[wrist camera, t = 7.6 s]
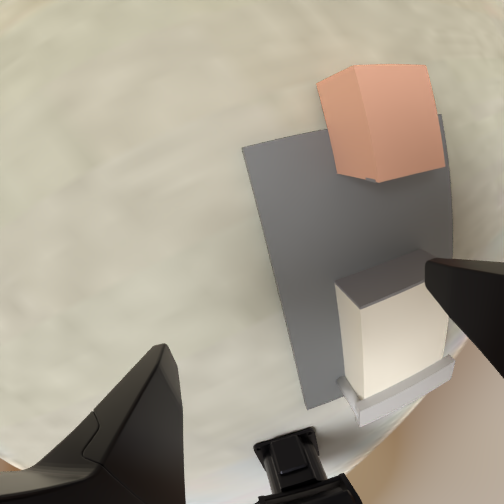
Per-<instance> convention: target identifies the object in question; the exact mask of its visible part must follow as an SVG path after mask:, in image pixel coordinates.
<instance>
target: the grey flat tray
mask: <svg viewBox="0 0 504 504" xmlns="http://www.w3.org/2000/svg"><path fill="white" fill-rule="evenodd" d="M437 115H438V120H439V126H440V131H441V138H442V144H443V152H444V160H445V167H442V168H438V169H433V170H429V171H425V172H421V173H416V174H412V175H408V176H404V177H400V178H396V179H392V180H388V181H384V182H380V183H378V182H376V183H375V182H371V181H366V180H365V179H360V178H356V177H351V176H346V175H342V174H337V170H336V165H335V160H334V155H333V151H332V146H331V142H330V137H329V133H328V129H324V130H318V131H313V132H308V133H303V134H298V135H294V136H289V137H284V138H280V139H276V140H271V141H267V142H263V143H259V144H255V145H251V146H247V147H243V148H242V152H243V155H244V159H245V163H246V167H247V171H248V174H249V178H250V182H251V186H252V190H253V194H254V197H255V201H256V205H257V209H258V213H259V217H260V221H261V225H262V229H263V232H264V236H265V240H266V244H267V248H268V252H269V256H270V260H271V264H272V268H273V272H274V276H275V280H276V284H277V288H278V292H279V297H280V301H281V305H282V309H283V313H284V317H285V321H286V325H287V329H288V334H289V338H290V342H291V346H292V350H293V355H294V359H295V363H296V367H297V372H298V376H299V380H300V384H301V389H302V393H303V397H304V402H305V406H306V408H307V410H309V409H312V408H314V407H317V406H320V405H322V404H325V403H328V402H330V401H333V400H335V399H338V398H340V397H343V396H345V398H346V400H347V401H348V403H349V405H350V407H351V408H352V410H353V412H354V413H355V420H356V422H357V423H358V425H359V427H363V426H365V425H367V424H369V423H371V422H374V421H376V420H378V419H380V418H382V417H384V416H386V415H388V414H390V413H392V412H394V411H396V410H398V409H400V408H402V407H404V406H406V405H408V404H409V403H411V402H413V401H415V400H417V399H418V398H420V397H422V396H424V395H425V394H427V393H429V392H431V391H432V390H434V389H436V388H437V387H439V386H440V385H442V384H444V383H445V382H447V381H448V380H450V379H451V377H452V373H453V369H454V365H455V360H454V359H453V358H452V357H451V356H450V355H447V356H446V357H444V358H443V353H444V347H445V341H446V334H447V327H448V319H449V316H448V315H447V314H446V312H445V311H444V310H443V308H442V307H441V306H440V305H439V303H438V302H437V301H436V300H435V298H434V297H433V296H432V295H431V293H430V292H429V291H428V290H427V288H426V286H425V263H426V261H428V260H430V259H432V258H448V259H452V256H453V219H452V196H451V182H450V171H449V162H448V154H447V146H446V139H445V133H444V127H443V121H442V116H441V114H437Z"/></svg>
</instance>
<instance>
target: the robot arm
mask: <svg viewBox="0 0 504 504" xmlns="http://www.w3.org/2000/svg"><path fill="white" fill-rule="evenodd" d="M425 286H426V288H427V290H428V291H429V292H430V293H431V295H432V296H433V297H434V298H435V300H436V301H437V302H438V303H439V305H440V306H441V307H442V308H443V310H444V311H445V312H446V314H447V315H448V316H449V317H450V318H451V319H452V320H453V321H454V323H455V324H456V325H457V326H458V327H459V328H460V329H461V330H462V331H463V332H464V333H465V334H466V335H467V337H468V338H469V339H470V340H471V341H472V342H473V343H474V344H475V345H476V346H477V348H478V349H479V350H480V351H481V352H482V353H483V354H484V356H485V357H486V358H487V359H488V360H489V361H490V363H491V364H492V365H493V366H494V367H495V368H496V370H497V371H498V372H499V373H500V375H501V376H502V377H503V378H504V263H503V262H490V261H476V260H462V259H448V258H432V259H430V260H428V261H426V263H425ZM93 411H94V412H93ZM93 411H92V412H91V413H90V414H89V415H88V416H87V417H86V418H85V419H84V420H83V421H82V422H81V423H80V424H79V425H78V426H77V427H76V428H75V429H74V430H73V431H72V432H71V433H70V434H69V435H68V436H67V437H66V438H65V439H64V440H63V441H61V442H60V443H59V444H58V445H57V446H56V447H55V448H54V449H53V450H51V451H50V452H49V453H48V454H47V455H46V456H45V457H44V458H42V459H41V460H40V461H39V462H38V463H37V464H35V465H34V466H32V467H30V468H28V469H25V470H21V471H10V472H0V504H186V502H185V482H184V453H183V407H182V399H181V391H180V382H179V374H178V367H177V364H176V362H175V360H174V358H173V356H172V354H171V351H170V349H169V347H168V346H167V344H165V343H164V344H159V345H155V346H153V347H152V348H151V349H150V350H149V351H148V352H147V353H146V354H145V355H144V356H143V357H142V359H141V360H140V361H139V362H138V363H137V364H136V365H135V366H134V367H133V368H132V369H131V370H130V371H129V372H128V373H127V374H126V376H125V377H124V378H123V379H122V380H121V381H120V382H119V383H118V384H117V385H116V386H115V387H114V388H113V389H112V390H111V391H110V393H109V394H108V395H107V396H106V397H105V398H104V399H103V400H102V401H101V402H100V403H99V404H98V405H97V406H96V407H95V409H94V410H93ZM253 448H254V451H255V453H256V455H257V457H258V459H259V460H260V462H261V464H262V466H263V468H264V469H265V471H266V472H267V476H268V479H269V483H270V487H271V491H272V495H267V496H264V495H263V496H258V498H259V501H258V502H256V503H255V504H362V501H361V499H360V497H359V496H358V494H357V493H356V491H355V490H354V488H353V486H352V485H351V483H350V482H349V480H348V479H347V477H346V475H345V474H344V473H342V474H339V475H338V476H335V477H332V478H329V479H327V476H326V474H325V471H324V469H323V467H322V464H321V462H320V459H319V457H318V456H319V451H318V446H317V441H316V436H315V432H314V429H313V428H308V429H305V430H302V431H299V432H296V433H293V434H290V435H287V436H284V437H281V438H277V439H274V440H270V441H267V442H263V443H260V444H256V445H254V447H253Z"/></svg>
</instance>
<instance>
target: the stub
mask: <svg viewBox="0 0 504 504" xmlns="http://www.w3.org/2000/svg"><path fill="white" fill-rule="evenodd" d="M316 85H317V89H318V93H319V96H320V100H321V104H322V108H323V112H324V116H325V120H326V124H327V128H328V133H329V137H330V142H331V146H332V151H333V155H334V160H335V165H336V170H337V174H342V175H346V176H351V177H356V178H360V179H365V180H366V181H371V182H375V183H376V182H378V183H380V182H384V181H388V180H392V179H396V178H400V177H404V176H408V175H412V174H416V173H421V172H425V171H429V170H433V169H438V168H442V167H445V160H444V152H443V144H442V138H441V131H440V126H439V120H438V115H437V110H436V105H435V100H434V95H433V91H432V87H431V83H430V79H429V75H428V71H427V67H426V65H411V64H375V65H353V66H351V67H349V68H347V69H345V70H342V71H340V72H338V73H336V74H334V75H332V76H330V77H328V78H326V79H324V80H322V81H320V82H318V83H316Z"/></svg>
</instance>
